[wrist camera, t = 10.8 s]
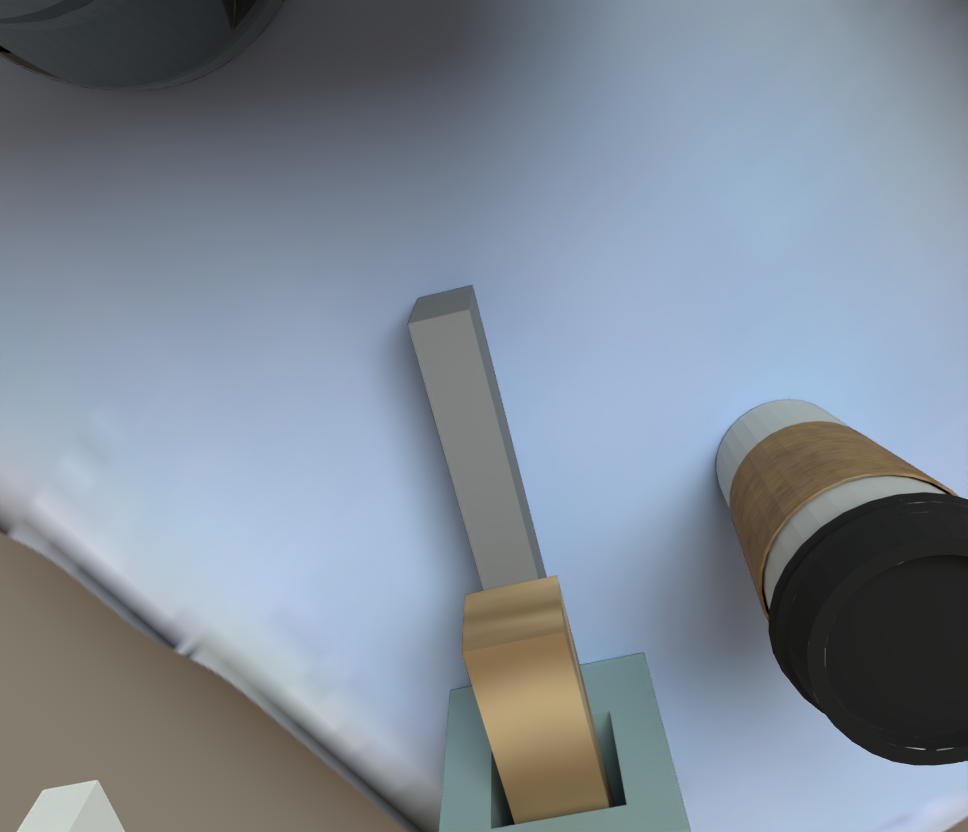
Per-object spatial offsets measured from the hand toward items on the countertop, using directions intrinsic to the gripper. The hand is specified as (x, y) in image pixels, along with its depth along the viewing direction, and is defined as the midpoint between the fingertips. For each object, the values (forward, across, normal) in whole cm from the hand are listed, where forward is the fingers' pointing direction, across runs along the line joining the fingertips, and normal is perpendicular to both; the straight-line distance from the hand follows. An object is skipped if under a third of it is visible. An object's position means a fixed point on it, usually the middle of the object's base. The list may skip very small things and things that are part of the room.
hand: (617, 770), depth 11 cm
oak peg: (+22, -4, -18) cm, 29 cm away
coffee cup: (+27, +9, -11) cm, 31 cm away
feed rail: (+27, -4, -7) cm, 28 cm away
